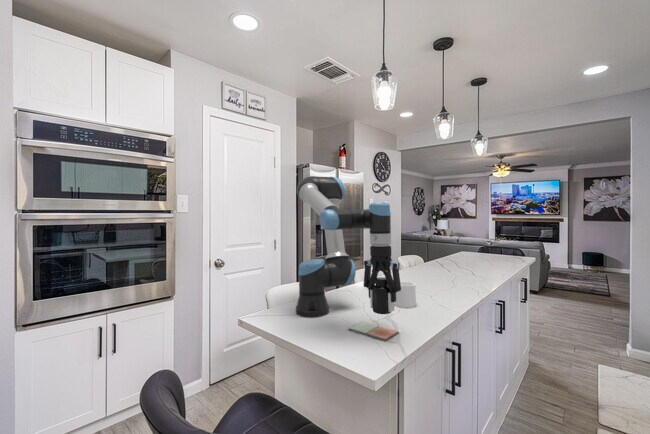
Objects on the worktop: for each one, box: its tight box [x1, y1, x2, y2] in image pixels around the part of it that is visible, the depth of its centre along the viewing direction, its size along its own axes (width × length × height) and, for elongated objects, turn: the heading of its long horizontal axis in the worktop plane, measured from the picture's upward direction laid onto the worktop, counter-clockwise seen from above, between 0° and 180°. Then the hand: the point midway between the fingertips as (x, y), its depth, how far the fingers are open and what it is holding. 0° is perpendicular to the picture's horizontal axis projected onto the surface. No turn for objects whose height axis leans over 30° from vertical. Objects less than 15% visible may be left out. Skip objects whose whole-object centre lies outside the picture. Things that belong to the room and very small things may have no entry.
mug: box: [394, 281, 417, 309], centre depth 142 cm, size 13×10×10 cm
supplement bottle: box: [372, 277, 392, 315], centre depth 105 cm, size 7×7×12 cm
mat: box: [347, 321, 400, 342], centre depth 108 cm, size 16×10×1 cm, turn 47°
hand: (382, 308), depth 105 cm, fingers closed on supplement bottle, 7 cm apart
